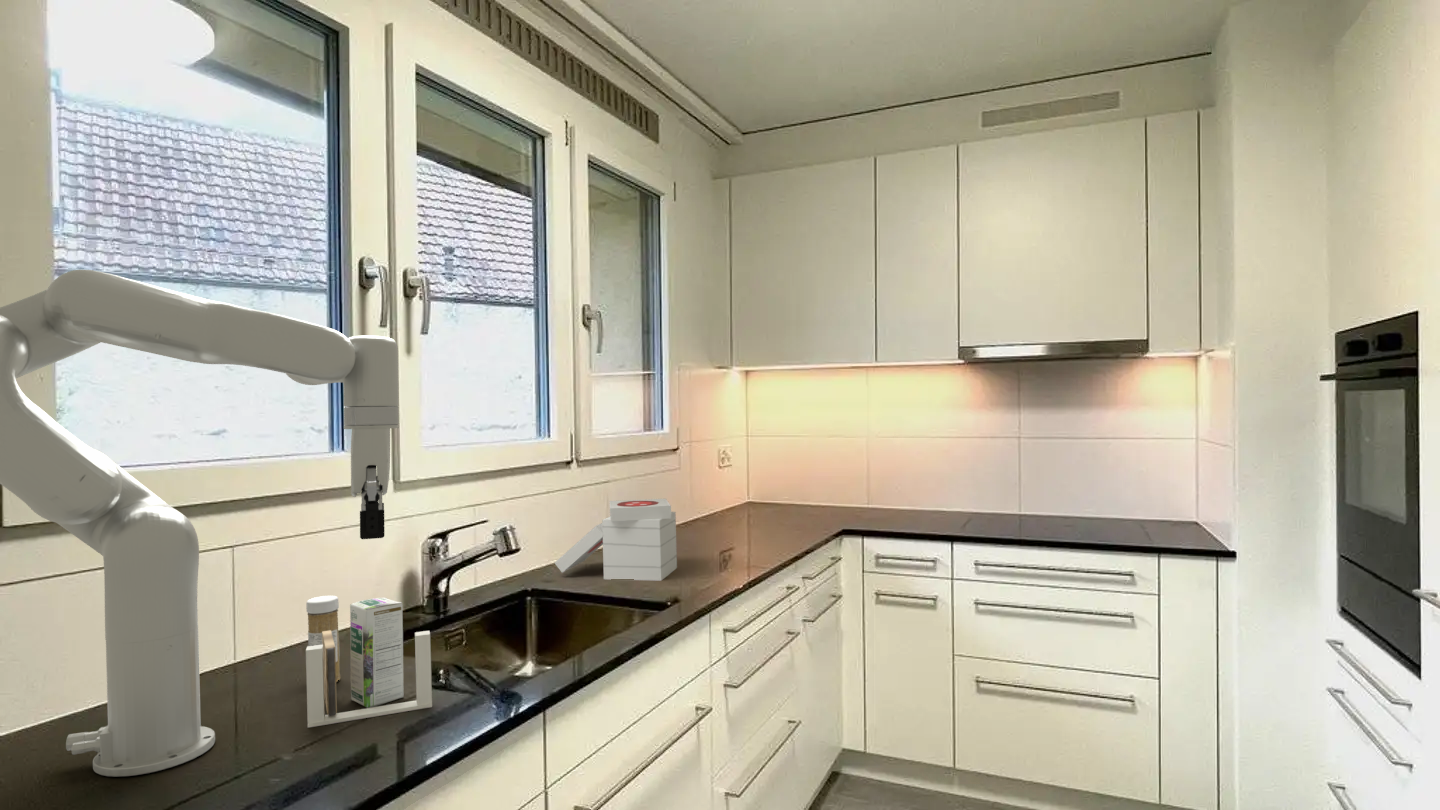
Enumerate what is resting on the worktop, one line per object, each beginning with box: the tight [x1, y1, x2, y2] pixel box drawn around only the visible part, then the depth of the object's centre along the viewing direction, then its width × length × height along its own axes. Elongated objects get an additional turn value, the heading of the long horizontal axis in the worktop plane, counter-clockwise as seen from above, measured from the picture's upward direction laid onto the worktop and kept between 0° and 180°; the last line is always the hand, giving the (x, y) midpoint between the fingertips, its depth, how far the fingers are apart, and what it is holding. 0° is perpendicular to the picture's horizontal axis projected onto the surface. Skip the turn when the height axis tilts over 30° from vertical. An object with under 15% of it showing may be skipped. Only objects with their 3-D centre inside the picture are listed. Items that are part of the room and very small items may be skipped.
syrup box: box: [349, 597, 405, 709], centre depth 117 cm, size 6×6×14 cm
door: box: [322, 630, 338, 716], centre depth 114 cm, size 11×1×9 cm, turn 30°
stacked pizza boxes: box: [554, 498, 678, 582], centre depth 202 cm, size 19×30×18 cm, turn 78°
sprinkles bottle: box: [306, 595, 341, 683], centre depth 125 cm, size 5×5×13 cm
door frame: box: [305, 630, 433, 728], centre depth 111 cm, size 16×2×10 cm, turn 114°
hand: (372, 533), depth 117 cm, fingers open, 9 cm apart
